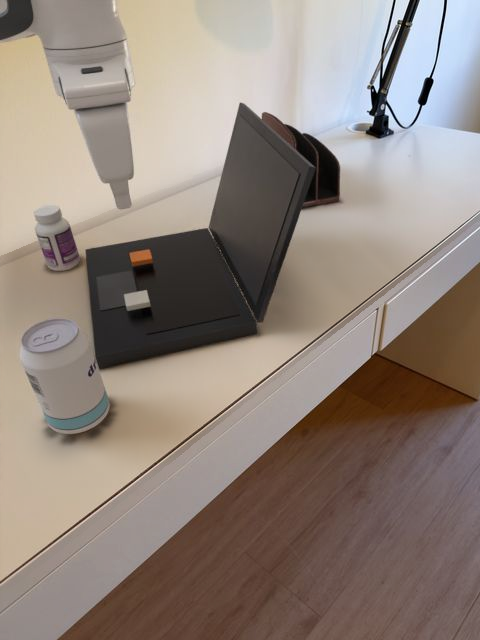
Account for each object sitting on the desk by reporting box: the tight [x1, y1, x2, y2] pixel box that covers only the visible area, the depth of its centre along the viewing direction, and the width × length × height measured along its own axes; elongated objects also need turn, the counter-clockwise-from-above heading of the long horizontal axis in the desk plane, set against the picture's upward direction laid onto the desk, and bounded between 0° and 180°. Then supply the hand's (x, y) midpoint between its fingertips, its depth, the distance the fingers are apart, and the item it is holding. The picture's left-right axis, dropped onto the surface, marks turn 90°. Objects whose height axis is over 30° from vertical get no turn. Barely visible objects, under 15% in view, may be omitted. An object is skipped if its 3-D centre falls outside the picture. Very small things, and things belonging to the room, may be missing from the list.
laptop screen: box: [207, 102, 316, 323], centre depth 76 cm, size 21×30×1 cm
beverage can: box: [19, 317, 111, 435], centre depth 56 cm, size 7×7×12 cm
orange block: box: [129, 249, 153, 266], centre depth 82 cm, size 3×3×1 cm
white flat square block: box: [124, 290, 151, 311], centre depth 73 cm, size 3×3×1 cm
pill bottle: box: [33, 204, 81, 272], centre depth 85 cm, size 5×5×10 cm
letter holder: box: [261, 111, 341, 209], centre depth 105 cm, size 10×20×14 cm, turn 17°
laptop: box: [85, 227, 258, 370], centre depth 79 cm, size 21×30×2 cm
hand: (121, 192), depth 67 cm, fingers open, 8 cm apart
